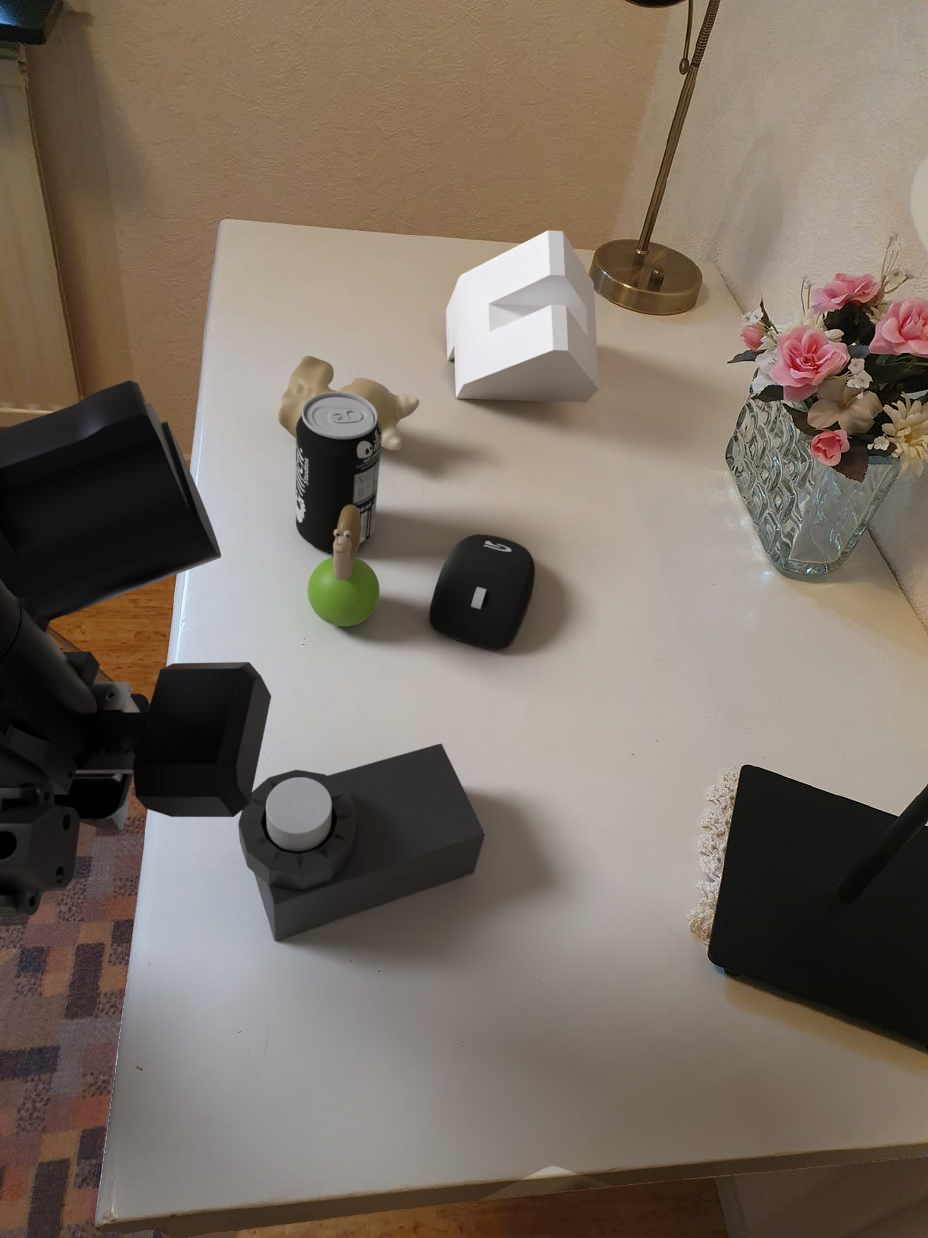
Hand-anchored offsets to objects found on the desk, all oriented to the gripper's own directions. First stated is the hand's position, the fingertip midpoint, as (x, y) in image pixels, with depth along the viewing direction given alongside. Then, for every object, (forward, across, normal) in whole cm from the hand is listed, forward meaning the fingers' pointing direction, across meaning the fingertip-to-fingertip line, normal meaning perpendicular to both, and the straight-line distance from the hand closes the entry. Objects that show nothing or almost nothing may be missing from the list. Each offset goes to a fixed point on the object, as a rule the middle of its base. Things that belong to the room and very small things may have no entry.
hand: (118, 821), depth 45 cm
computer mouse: (+20, +15, +29) cm, 38 cm away
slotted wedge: (+24, +18, +59) cm, 66 cm away
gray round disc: (+8, +7, +3) cm, 11 cm away
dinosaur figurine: (+18, +2, +47) cm, 50 cm away
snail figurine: (+17, +4, +24) cm, 30 cm away
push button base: (+15, +9, +4) cm, 18 cm away
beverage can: (+17, +2, +34) cm, 38 cm away
